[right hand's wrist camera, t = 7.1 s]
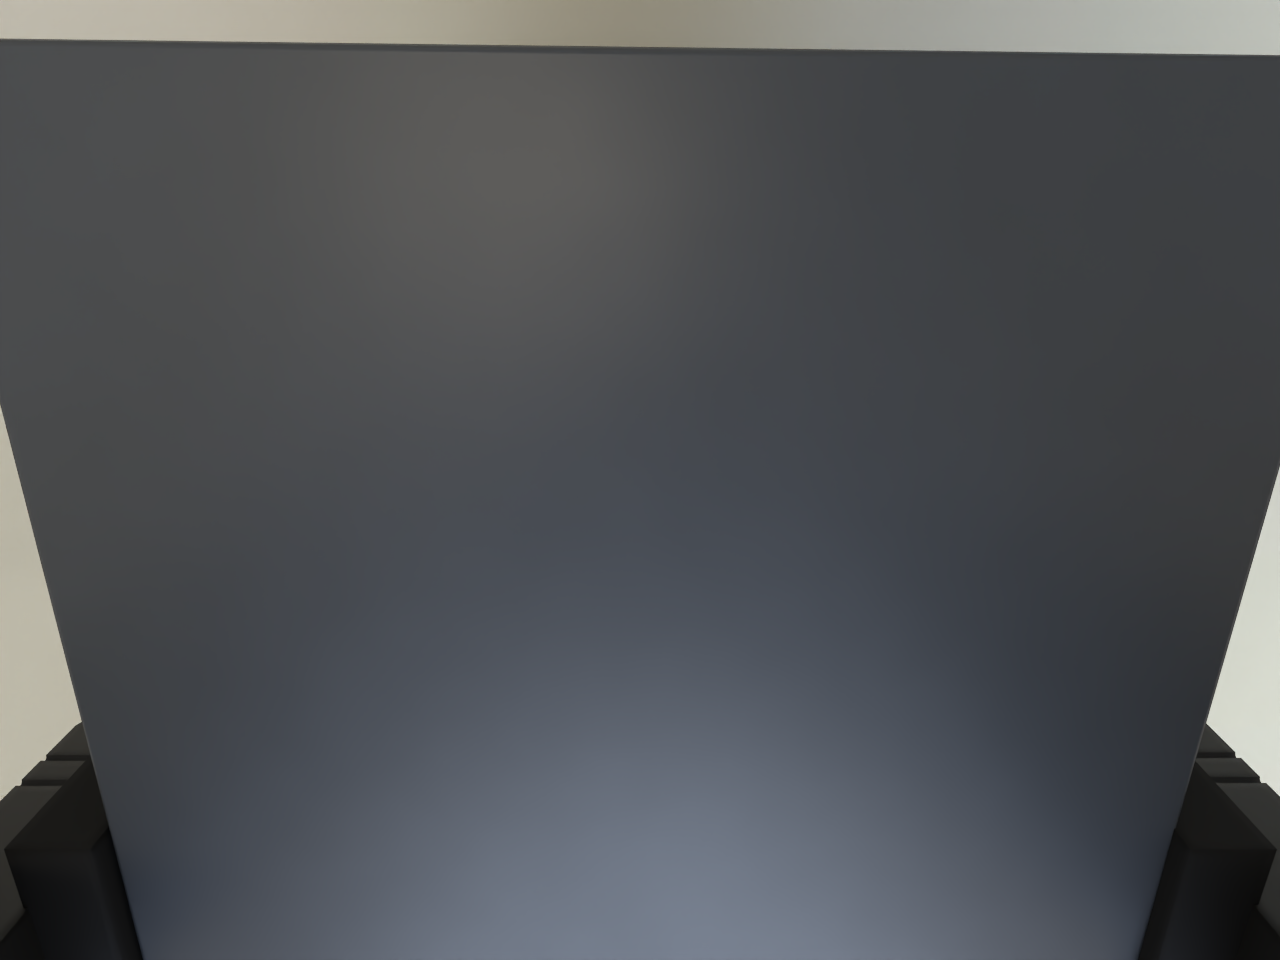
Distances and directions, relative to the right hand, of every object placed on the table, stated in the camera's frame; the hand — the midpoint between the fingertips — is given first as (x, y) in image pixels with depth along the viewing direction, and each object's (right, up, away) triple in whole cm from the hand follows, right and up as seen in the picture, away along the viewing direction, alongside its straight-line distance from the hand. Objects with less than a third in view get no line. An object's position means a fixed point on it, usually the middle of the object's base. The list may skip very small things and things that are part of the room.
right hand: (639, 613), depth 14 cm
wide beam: (0, -21, +8) cm, 22 cm away
